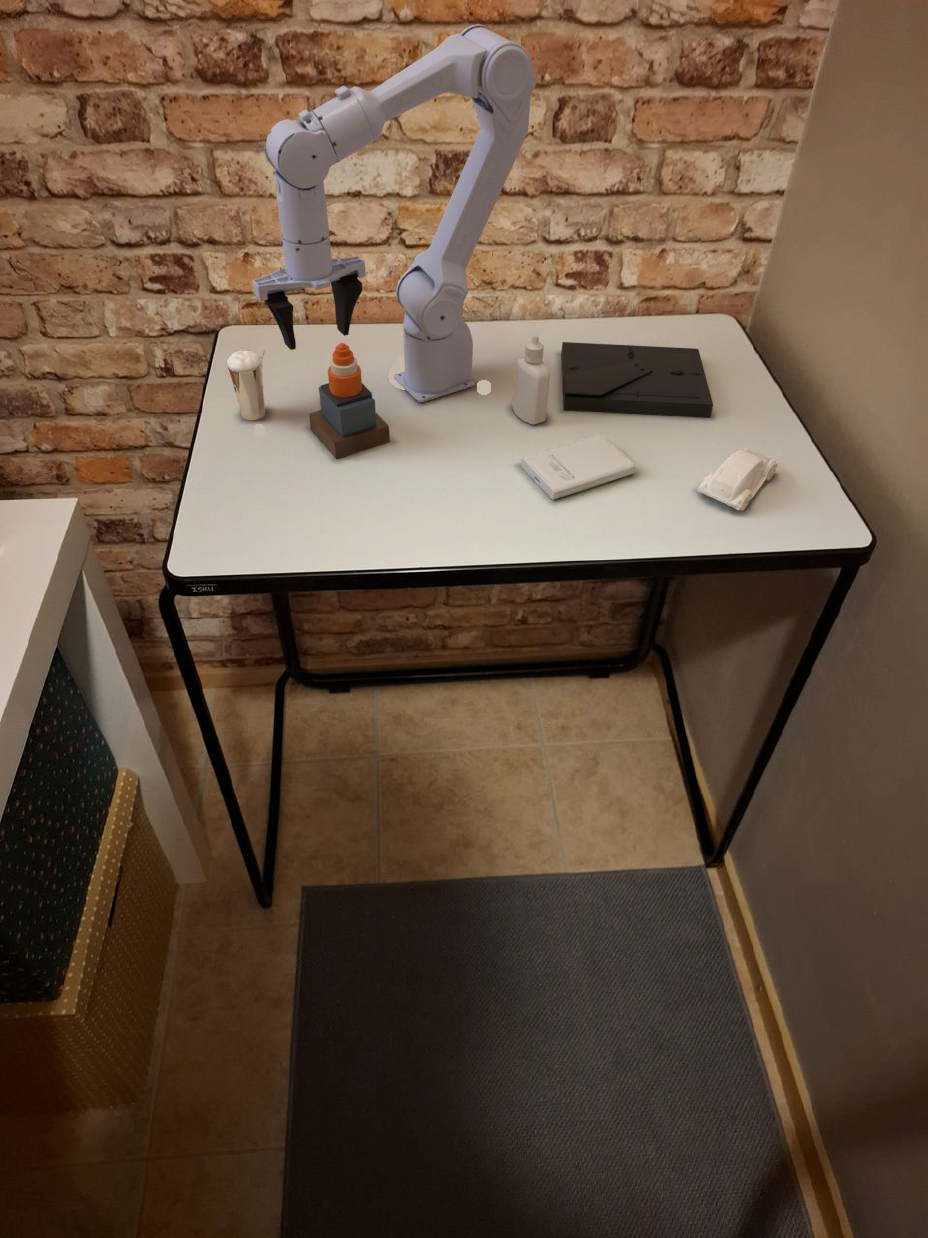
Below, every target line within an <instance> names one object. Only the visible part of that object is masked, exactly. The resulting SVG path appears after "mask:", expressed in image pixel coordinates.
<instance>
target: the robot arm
mask: <svg viewBox="0 0 928 1238" xmlns="http://www.w3.org/2000/svg"><path fill="white" fill-rule="evenodd" d="M537 83H538V78H537V74H536V71H535V68H534V65H533V62H532V58H531V56H530V54H529V52H528V50H527V49H526V48H525V47H524V46H523V45H522V44H520V43H518V42H515V41H512V40H510V39H508V38H506V37H504V36H502V35H499V34H498V33H496V32H494V31H493V30H492V29H491V28H490V27H488V26H486V25H483V24H472V25H469V26H467V27H466V28H464V29H463V30H462V31H461V32H459V33H458V32H456V33H454V34H451V35H449V36H447V37H446V38H445V39H444V40H443V41H442V42H441V43H440V44H439V45H438V46H436V48H434V49H432V50H431V51H430V52H428V53H427V54H425V55H424V56H422V57H420V58H419V59H417V60H416V61H415V62H413V63H411V64H409V66H407V67H405V68H404V69H402V70H401V71H399V72H398V73H396V74H395V75H393V76H391V77H390V78H389V79H387V80H385V81H384V82H382V83H381V84H379V85H378V86H376V87H375V88H373V89H371V90H366V89H363V88H361V87H359V86H353V87H351V88H348V87H346V86H345V85H342V86H341V87H338V88H336V89H335V90H334V93H335V95H336V96H335V97H333V98H331V99H330V100H328V101H326V102H325V103H323V104H321V105H320V106H318V107H316V108H313V110H310V111H308V110H307V109H303V110H302V111H300V112H299V113H298V117H299V120H297V119H290V118H287V119H282V120H280V121H279V122H277V123H275V124H274V125H273V126H272V128H271V129H270V131H271V132H270V133H268V134H267V137H266V142H265V146H264V147H263V152H264V155H265V158H266V160H267V162H268V163H269V165H271V167H272V168H273V169H274V170H275V171H274V180H275V181H274V182H275V189H276V203H277V204H276V205H277V211H278V219H279V228H280V235H281V239H282V240H281V241H282V250H283V256H284V265H285V266H284V267H282V268H279V269H278V270H275V271H273V272H271V273H269V274H267V275H265V276H262V277H259V278H256V279H252V280H251V283H252V284H251V285H252V289H253V295H254V297H256V299H257V300H258V301H259V302H264V303H265V305H266V306H267V307H268V309H269V311H270V312H271V314H272V316H273V318H274V320H275V322H276V323H277V326H278V329H279V331H280V333H281V336H282V339H283V342H284V345H285V346H286V347H287V348H288V349H289V350H290V351H293V350H296V349H297V343H296V337H295V331H294V305H293V304H292V303H291V302H290V301H289V297H288V296H287V295H286V294H287V293H290V292H294V291H299V290H302V289H307V288H313V289H314V290H322V289H326V288H329V287H330V286H331V290H332V295H333V302H334V312H335V313H334V314H335V323H336V328H337V331H339V333H340V334H342V335H343V336H344V337H345V336H348V335H350V328H351V327H350V326H351V322H352V317H353V313H354V310H355V307H356V304H357V301H358V300H359V298H360V296H361V294H362V292H363V282H362V281H361V280H359V278H360V279H361V278H363V277H367V276H366V275H367V274H366V261H364V260H363V259H362V258H361V257H360V256H358V255H356V256H350V257H340V258H332V250H331V238H330V230H329V229H330V228H329V218H328V217H329V216H328V206H327V205H328V204H327V195H326V192H325V182H324V181H325V180H326V179H327V177H328V174H329V172H330V169H331V168H332V166H334V165H336V164H337V163H340V162H342V161H343V160H345V159H347V158H348V157H350V156H352V155H353V154H355V153H357V152H359V151H360V150H362V149H364V148H366V147H367V146H369V145H371V144H373V143H374V142H377V141H378V140H379V139H380V138H381V136H382V133H383V129H384V126H385V123H386V122H388V121H390V120H392V119H394V118H397V117H398V116H400V115H403V114H404V113H407V112H409V111H410V110H413V109H415V108H417V107H418V106H421V105H422V104H424V103H427V102H429V101H430V100H433V99H435V98H437V97H438V96H441V95H442V94H445V93H451V94H454V95H459V96H464V97H468V98H471V100H472V104H473V106H474V109H475V113H476V116H477V118H478V121H479V124H480V129H479V132H478V133H477V136H476V138H475V140H474V143H473V146H472V148H471V149H470V152H469V155H468V156H467V159H466V162H465V164H464V166H463V169H462V170H461V173H460V175H459V177H458V180H457V183H456V185H455V187H454V189H453V192H452V194H451V197H450V199H449V201H448V204H447V206H446V208H445V209H444V213H443V214H442V218H441V220H440V221H439V224H438V227H437V229H436V231H435V233H434V236H433V238H432V241H431V243H430V245H429V247H428V248H427V249H426V250H424V251H422V252H420V253H418V254H417V255H415V258H414V259H413V262H412V264H411V265H410V267H409V268H408V269H407V270H406V271H405V272H404V273H403V274H402V275H401V276H400V277H399V278H398V281H397V284H396V287H395V296H396V297H395V298H396V301H397V303H398V304H399V306H400V307H401V308H402V309H404V318H403V321H402V322H403V323H402V328H403V356H404V357H403V358H404V371H403V372H400V373H396V374H394V375H393V380H395V381H396V383H397V384H399V386H401V387H402V388H403V389H404V390H405V391H406V392H407V393H408V394H409V395H410V396H412V398H413V399H415V400H416V402H418V403H425V402H428V401H432V400H434V399H437V398H440V397H444V396H446V395H449V394H450V395H451V394H454V393H456V392H460V391H463V390H465V389H469V388H473V387H475V381H473V357H474V355H473V352H474V341H473V336H472V332H471V330H470V328H469V325H468V324H467V323H466V321H465V320H464V319H463V315H464V303H465V300H466V298H467V295H468V293H469V288H468V281H467V273H466V270H467V267H468V264H469V262H470V260H471V258H472V256H473V253H474V251H475V249H476V247H477V245H478V242H479V241H480V238H481V236H482V234H483V232H484V230H485V228H486V225H487V224H488V221H489V219H490V216H491V215H492V211H493V210H494V208H495V206H496V203H497V201H498V199H499V197H500V195H501V192H502V190H503V188H504V186H505V183H506V182H507V179H508V178H509V175H510V173H511V170H512V168H513V165H514V164H515V162H516V161H517V157H518V155H519V153H520V151H521V149H522V147H523V144H524V142H525V140H526V138H527V135H528V132H529V125H530V113H531V112H530V111H531V100H532V99H531V98H532V94H533V91H534V89H535V87H536V85H537Z"/></svg>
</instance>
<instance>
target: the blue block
mask: <svg viewBox="0 0 928 1238" xmlns="http://www.w3.org/2000/svg"><path fill="white" fill-rule="evenodd" d="M318 396H319V402H320V403H319V404H320V410H321V413H322V414H323V415H324V416H325V417H326V419H327V420H328V421H329V422H330V423H331V424H332V425H333V426H334V428H335V429H336V430H337V431H338V432H339V433H340V434H341V435H342V437H344V436H347V435H350V434H353V433H356V432H359V431H363V430H366V429H369V428H372V427H375V426H376V413H377V411H376V410H377V409H376V399H375V398H374V397H373V396H372V397H370V398H367V399H363V400H360V401H357V402H353V403H350V404H347V405H343V406H340V407H337V406H336V405H335V404H334V403H333V402H332V401H331V400H330V399H329V398H328V396H327V395H326V394H325V393H324V392H323V391H322V390H321V385H320V386H318Z"/></svg>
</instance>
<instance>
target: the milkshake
mask: <svg viewBox="0 0 928 1238" xmlns="http://www.w3.org/2000/svg"><path fill="white" fill-rule="evenodd" d="M265 351H266V350H265V349H264V351H263V352H262V355H261V356H260V355H259V354H258V353H256V352H254V351H251V350H237V351H234V352H232V353H231V355H230V356H229V357H228V358H227V361H226V366H227V369H228V373H229V376H230V378H231V379H230V380H231V383H232V386H233V389H234V393H235V396H236V399H237V403H238V407H239V410H240V414H241V417H242V418H243V419H245V420H246V421H257V420H261V419H262V418H264V417H265V416H266V405H265V403H266V402H265V393H264V392H265V391H264V380H263V379H264V378H263V377H264V375H263V374H264V373H263V359H264V355H265V353H266V352H265Z"/></svg>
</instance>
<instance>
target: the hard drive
mask: <svg viewBox="0 0 928 1238" xmlns="http://www.w3.org/2000/svg"><path fill="white" fill-rule="evenodd" d="M520 468H522V470H523V471H524V472H525V473H526V475H528V476H529V477H530V478H531V479H532V481H534V483H535V484H536V485H537V486H538V487H539V488H540V489H541V490H542V491H543V492H544V493H545V495H547V496H548V497H549V498H550V500H557V499H560V498H564V497H567V496H570V495H574V494H576V493H580V492H582V491H585V490H589V489H591V488H595V487H597V486H601V485H604V484H606V483H609V482H613V481H615V480H618V479H621V478H624V477H627V476H628V477H629V476H631V475H634V474H635V472H636V469H637V468H636V464H635V463H634V462H633V461H632V460H631V459H630V458H629V457H628V456H627V455H625V454H624V453H623V452H622V451H621V450H620V449H619V448H618V447H617V446H616V445H615V444H614V443H612V442H611V440H609V439H608V438H607V437H606V436H605V435H603V434H602V433H599V434H596V435H593V436H589V437H585V438H583V439H580V440H576V441H574V442H570V443H567V444H564V445H563V444H562V445H560V446H557V447H553V448H551V449H547V450H545V451H541V452H537V453H535V454H531V455H527V456H524V457H522V458H520Z"/></svg>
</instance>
